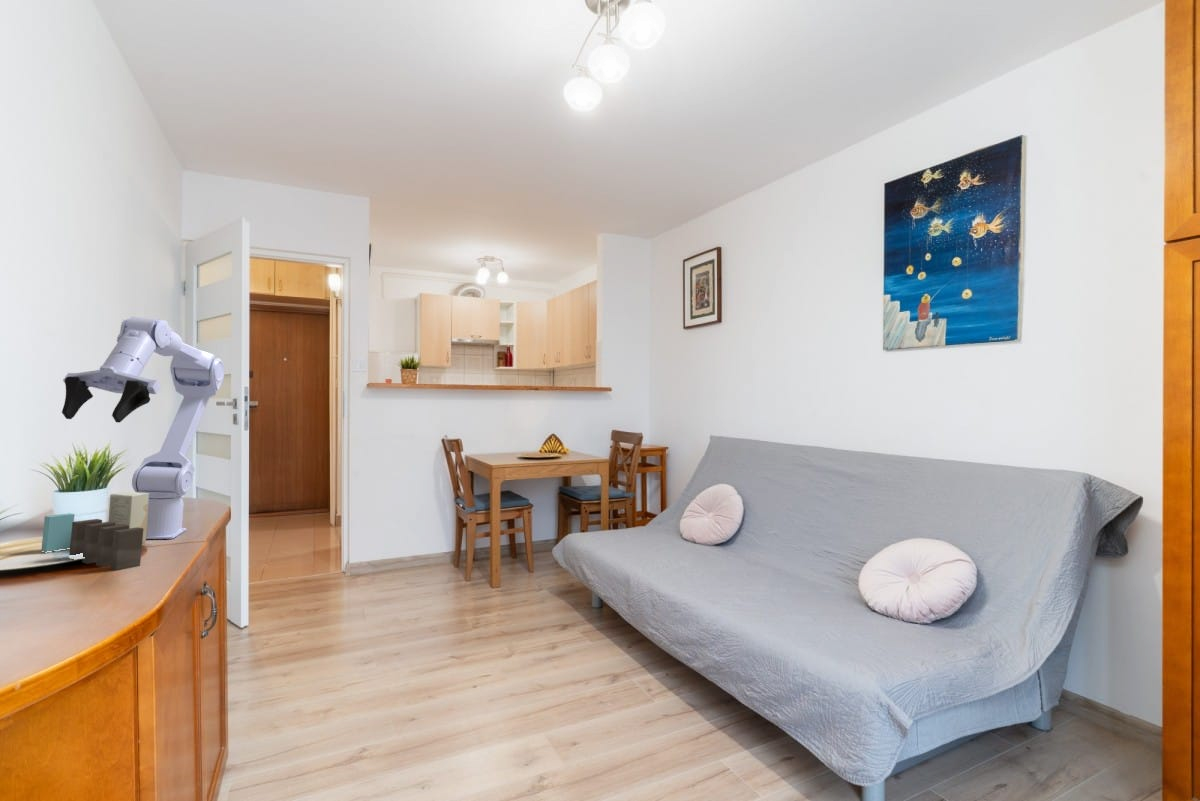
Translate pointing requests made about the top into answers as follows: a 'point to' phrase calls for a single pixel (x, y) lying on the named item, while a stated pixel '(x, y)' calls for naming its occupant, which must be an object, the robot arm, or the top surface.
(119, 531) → the tile
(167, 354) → the robot arm
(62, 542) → the lead tile
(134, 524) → the box
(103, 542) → the tile
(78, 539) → the tile
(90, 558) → the tile
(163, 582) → the top surface
